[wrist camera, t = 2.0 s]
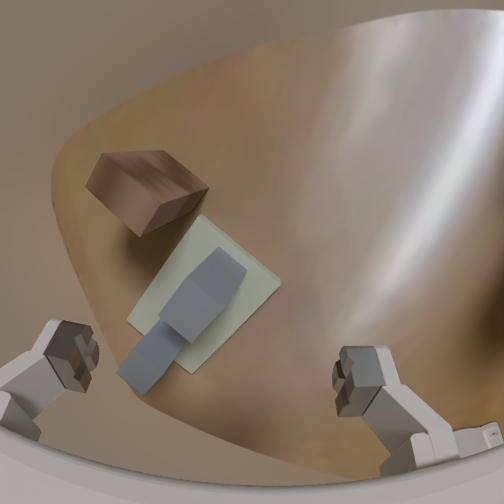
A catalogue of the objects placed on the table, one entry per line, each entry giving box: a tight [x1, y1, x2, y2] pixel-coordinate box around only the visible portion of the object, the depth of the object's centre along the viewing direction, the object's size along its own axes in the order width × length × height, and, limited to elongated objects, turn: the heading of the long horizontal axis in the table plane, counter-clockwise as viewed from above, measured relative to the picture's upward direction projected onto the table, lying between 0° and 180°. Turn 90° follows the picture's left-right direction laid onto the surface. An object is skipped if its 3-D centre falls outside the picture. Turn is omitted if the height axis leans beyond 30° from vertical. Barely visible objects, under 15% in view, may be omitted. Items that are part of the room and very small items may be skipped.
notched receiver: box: [116, 214, 282, 395], centre depth 30 cm, size 10×16×9 cm, turn 141°
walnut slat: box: [85, 150, 209, 237], centre depth 26 cm, size 6×3×10 cm, turn 51°
